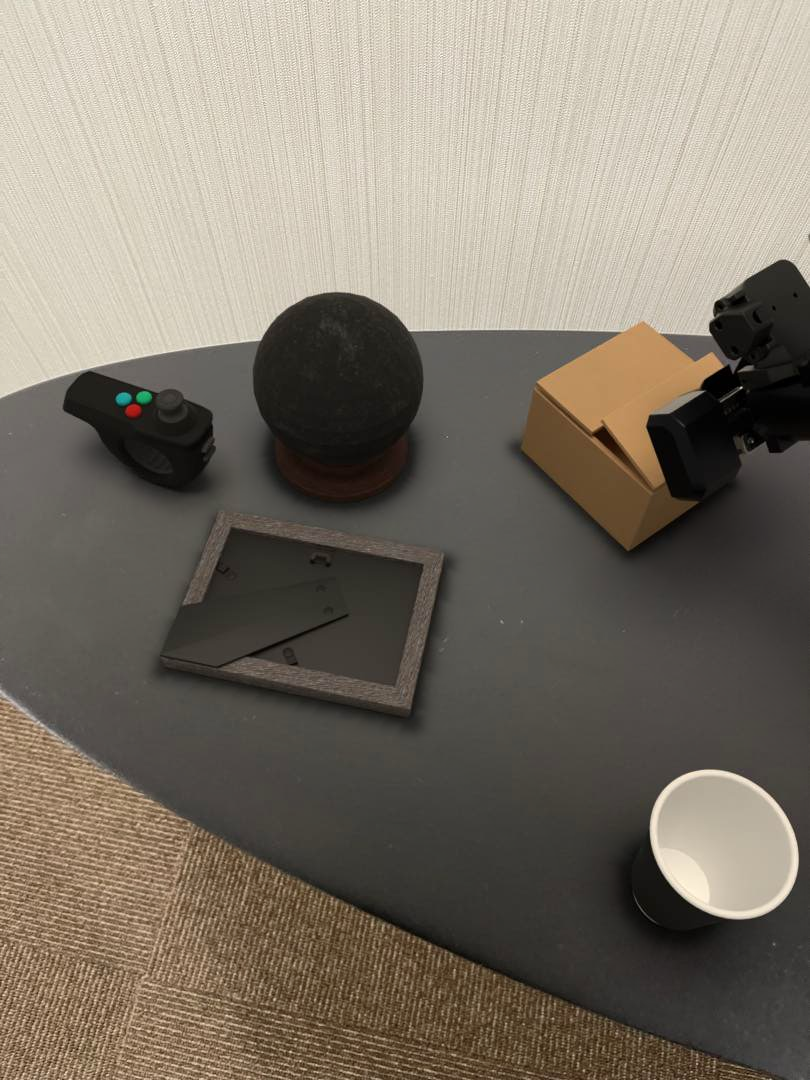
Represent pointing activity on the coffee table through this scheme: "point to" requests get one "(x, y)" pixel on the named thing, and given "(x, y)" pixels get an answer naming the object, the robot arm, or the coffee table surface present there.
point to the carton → (604, 432)
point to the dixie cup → (714, 853)
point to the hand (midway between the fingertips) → (677, 404)
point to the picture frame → (308, 612)
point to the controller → (145, 427)
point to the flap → (633, 416)
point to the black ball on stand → (338, 394)
